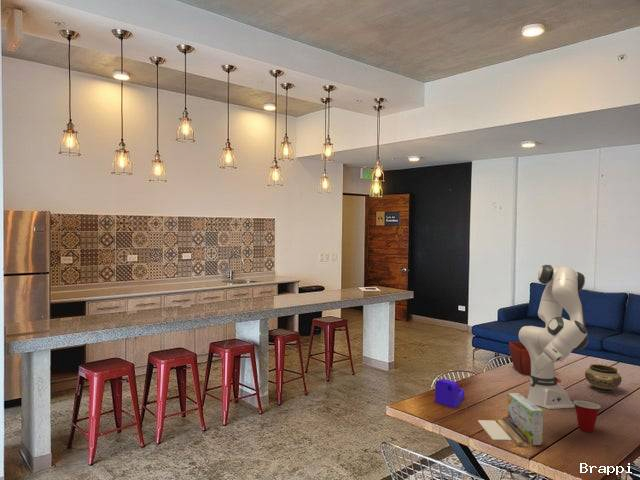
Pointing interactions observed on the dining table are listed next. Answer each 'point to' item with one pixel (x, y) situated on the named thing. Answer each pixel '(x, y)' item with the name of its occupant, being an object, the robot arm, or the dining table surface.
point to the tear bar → (512, 432)
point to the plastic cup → (586, 415)
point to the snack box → (526, 418)
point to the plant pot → (520, 358)
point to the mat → (494, 430)
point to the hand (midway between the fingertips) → (534, 373)
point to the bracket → (448, 393)
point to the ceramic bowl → (603, 377)
